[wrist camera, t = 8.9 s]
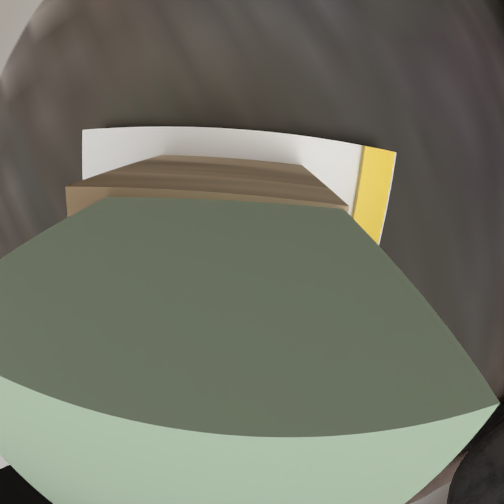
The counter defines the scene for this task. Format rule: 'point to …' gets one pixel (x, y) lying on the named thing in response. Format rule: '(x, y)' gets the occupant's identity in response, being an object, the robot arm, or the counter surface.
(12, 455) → the block
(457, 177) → the counter surface
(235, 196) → the tan wooden bar
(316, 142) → the dock
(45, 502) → the robot arm
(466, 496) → the pitcher
